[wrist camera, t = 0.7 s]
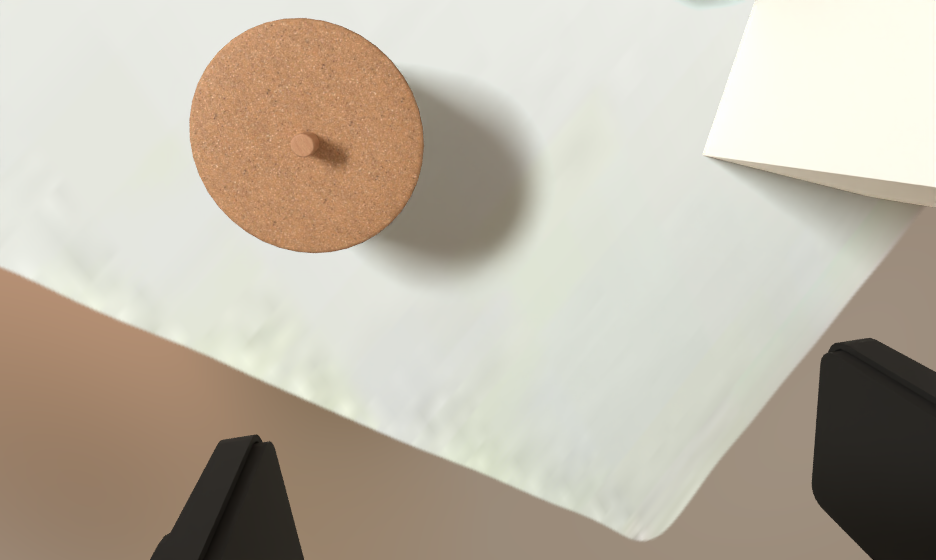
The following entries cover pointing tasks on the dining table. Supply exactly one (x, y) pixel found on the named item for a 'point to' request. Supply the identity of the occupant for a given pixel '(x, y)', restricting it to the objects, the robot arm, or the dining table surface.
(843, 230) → the dining table surface
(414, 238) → the dining table surface
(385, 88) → the lidded jar
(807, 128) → the milk
